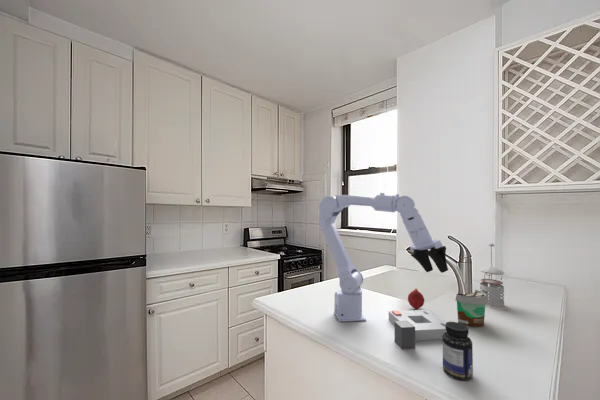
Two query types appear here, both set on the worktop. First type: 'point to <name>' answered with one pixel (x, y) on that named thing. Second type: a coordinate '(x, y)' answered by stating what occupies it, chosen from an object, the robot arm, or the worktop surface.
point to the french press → (493, 287)
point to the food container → (471, 308)
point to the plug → (404, 334)
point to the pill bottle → (457, 351)
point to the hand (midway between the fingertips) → (436, 271)
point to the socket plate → (421, 323)
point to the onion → (416, 299)
